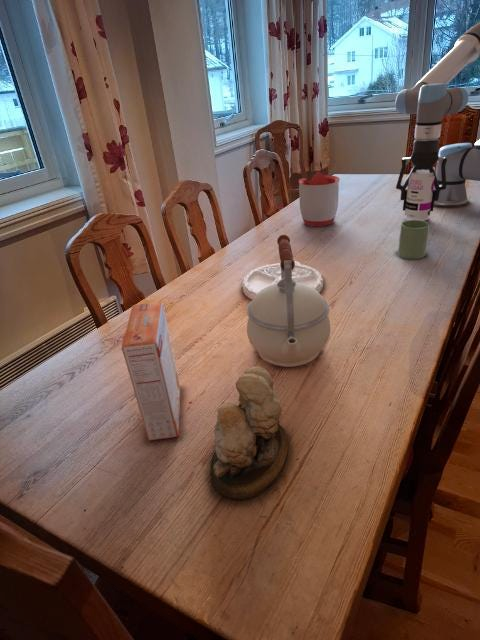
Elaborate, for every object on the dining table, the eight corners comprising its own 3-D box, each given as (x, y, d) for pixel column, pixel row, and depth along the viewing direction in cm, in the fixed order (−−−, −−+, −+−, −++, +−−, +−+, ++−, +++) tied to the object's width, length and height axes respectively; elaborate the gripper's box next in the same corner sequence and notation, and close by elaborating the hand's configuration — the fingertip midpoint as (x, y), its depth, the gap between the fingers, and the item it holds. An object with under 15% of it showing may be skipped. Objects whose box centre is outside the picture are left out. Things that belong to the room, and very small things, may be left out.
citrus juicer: (324, 213, 183) (325, 164, 173) (345, 224, 169) (347, 171, 159) (291, 219, 180) (289, 170, 170) (309, 231, 165) (309, 178, 155)
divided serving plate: (231, 300, 121) (230, 293, 120) (260, 263, 142) (259, 256, 141) (313, 308, 113) (313, 300, 112) (331, 267, 135) (331, 260, 133)
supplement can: (429, 212, 151) (435, 168, 143) (430, 220, 144) (436, 174, 137) (404, 212, 153) (409, 169, 146) (404, 219, 147) (409, 174, 139)
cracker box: (152, 392, 89) (131, 303, 78) (181, 388, 89) (164, 299, 78) (145, 442, 76) (119, 345, 66) (179, 438, 77) (158, 340, 66)
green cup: (408, 247, 143) (412, 218, 138) (430, 254, 137) (435, 223, 132) (392, 254, 139) (395, 224, 134) (414, 261, 133) (418, 230, 128)
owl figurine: (240, 413, 81) (231, 337, 72) (300, 427, 76) (299, 348, 68) (195, 489, 67) (177, 406, 58) (266, 512, 62) (258, 426, 54)
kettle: (249, 326, 108) (240, 231, 95) (322, 322, 107) (323, 225, 94) (248, 391, 86) (236, 278, 74) (340, 386, 85) (344, 271, 73)
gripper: (390, 141, 137) (384, 212, 148) (463, 139, 129) (451, 213, 141) (393, 138, 143) (387, 205, 154) (462, 136, 135) (451, 207, 147)
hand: (417, 209), depth 148 cm, fingers closed on supplement can, 8 cm apart
